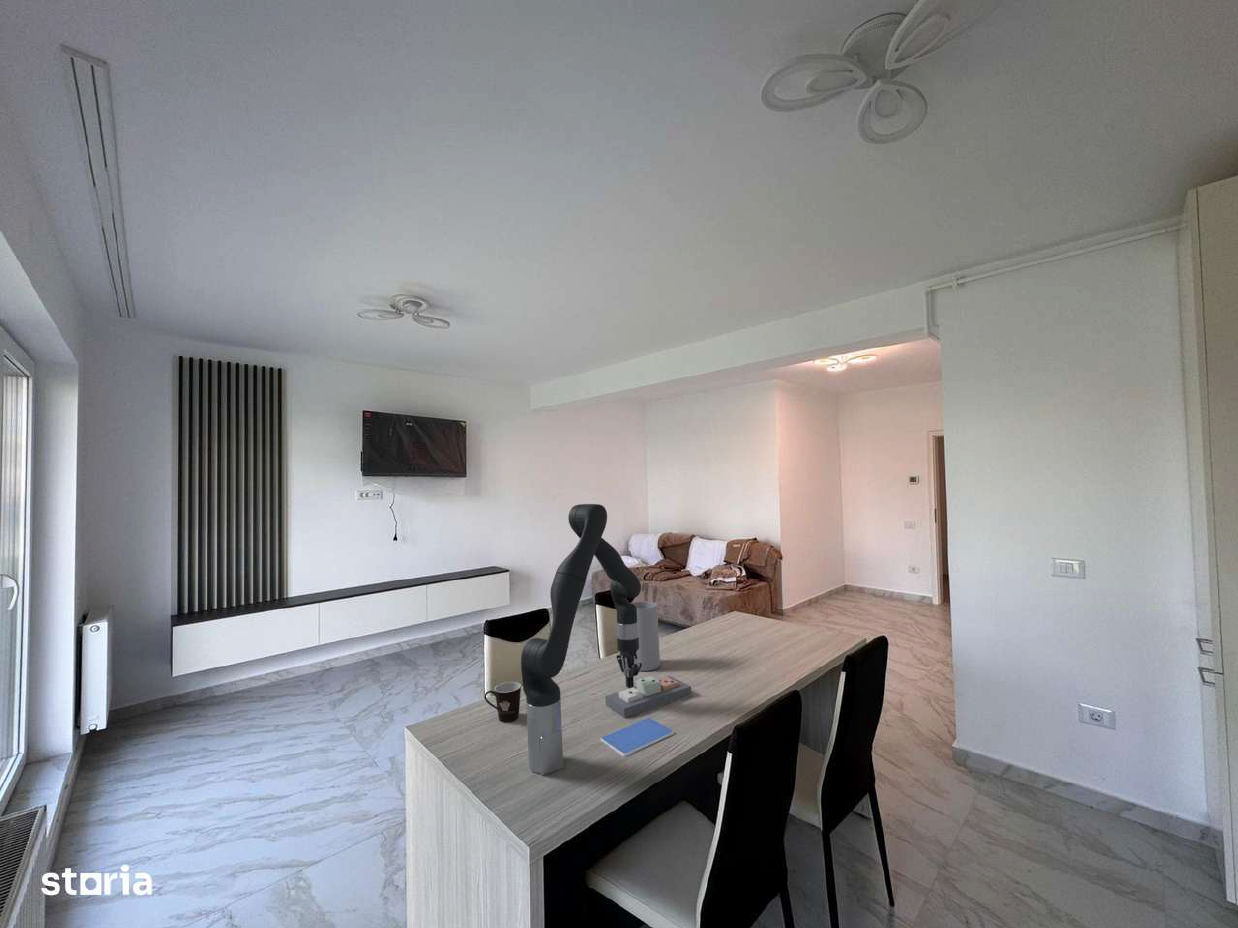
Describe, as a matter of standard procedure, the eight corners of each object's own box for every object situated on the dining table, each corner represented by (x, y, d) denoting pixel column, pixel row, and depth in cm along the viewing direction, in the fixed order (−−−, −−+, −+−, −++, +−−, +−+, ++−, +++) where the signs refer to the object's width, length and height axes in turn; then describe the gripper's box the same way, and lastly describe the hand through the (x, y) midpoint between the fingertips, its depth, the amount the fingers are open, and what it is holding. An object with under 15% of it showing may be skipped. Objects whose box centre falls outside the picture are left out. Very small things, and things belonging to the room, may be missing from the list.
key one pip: (643, 703, 163) (642, 692, 163) (628, 708, 160) (627, 697, 160) (633, 697, 168) (633, 686, 168) (618, 702, 165) (618, 691, 165)
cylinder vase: (660, 660, 205) (657, 601, 206) (659, 671, 193) (656, 608, 194) (631, 660, 206) (628, 601, 208) (628, 672, 194) (625, 609, 195)
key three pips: (678, 692, 171) (677, 681, 171) (664, 696, 168) (664, 685, 168) (667, 686, 176) (667, 676, 176) (654, 690, 173) (653, 680, 173)
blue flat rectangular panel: (624, 759, 133) (624, 754, 133) (598, 741, 143) (598, 736, 143) (676, 735, 144) (675, 731, 144) (649, 720, 154) (648, 716, 154)
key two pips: (660, 691, 167) (660, 680, 167) (646, 696, 164) (646, 685, 164) (650, 686, 172) (650, 675, 172) (636, 690, 169) (636, 679, 169)
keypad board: (691, 694, 170) (690, 686, 170) (624, 718, 155) (624, 708, 155) (670, 684, 180) (670, 675, 180) (605, 704, 166) (605, 695, 166)
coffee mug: (527, 714, 161) (526, 684, 161) (509, 726, 154) (508, 694, 154) (502, 708, 167) (500, 678, 167) (483, 719, 159) (482, 688, 160)
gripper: (647, 637, 161) (650, 690, 160) (626, 629, 173) (628, 678, 172) (629, 642, 157) (631, 696, 156) (608, 633, 169) (610, 683, 168)
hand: (629, 687), depth 164 cm, fingers closed
